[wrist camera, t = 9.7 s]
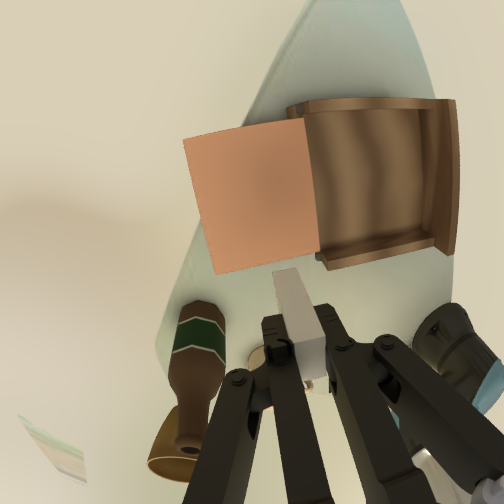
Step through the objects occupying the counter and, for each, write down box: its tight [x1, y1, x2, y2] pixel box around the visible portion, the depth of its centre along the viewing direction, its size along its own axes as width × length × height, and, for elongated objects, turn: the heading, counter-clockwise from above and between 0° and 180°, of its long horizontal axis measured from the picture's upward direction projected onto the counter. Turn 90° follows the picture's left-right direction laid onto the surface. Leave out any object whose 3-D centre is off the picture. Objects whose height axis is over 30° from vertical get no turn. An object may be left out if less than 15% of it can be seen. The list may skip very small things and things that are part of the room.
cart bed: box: [286, 97, 460, 271], centre depth 31 cm, size 17×18×14 cm
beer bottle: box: [168, 301, 226, 456], centre depth 35 cm, size 8×8×24 cm
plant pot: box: [147, 405, 209, 483], centre depth 50 cm, size 15×15×16 cm
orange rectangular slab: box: [183, 118, 320, 275], centre depth 30 cm, size 2×15×12 cm
